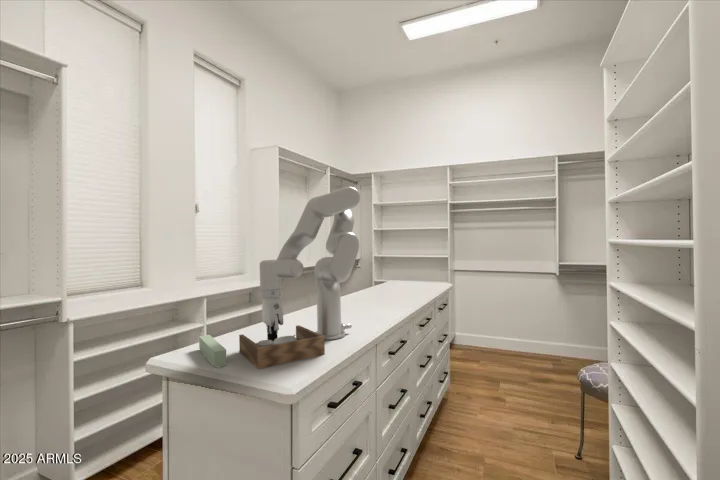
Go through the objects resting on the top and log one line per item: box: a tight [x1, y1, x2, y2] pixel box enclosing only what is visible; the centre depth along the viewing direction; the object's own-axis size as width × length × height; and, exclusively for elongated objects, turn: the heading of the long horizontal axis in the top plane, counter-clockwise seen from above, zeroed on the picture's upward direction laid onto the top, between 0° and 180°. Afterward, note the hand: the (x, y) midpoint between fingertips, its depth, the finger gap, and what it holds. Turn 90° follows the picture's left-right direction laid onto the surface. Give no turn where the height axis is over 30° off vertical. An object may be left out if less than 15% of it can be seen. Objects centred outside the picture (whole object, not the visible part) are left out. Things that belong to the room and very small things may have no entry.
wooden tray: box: [238, 325, 326, 370], centre depth 119 cm, size 22×20×6 cm
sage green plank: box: [198, 334, 227, 368], centre depth 117 cm, size 23×4×5 cm, turn 35°
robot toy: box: [255, 334, 297, 347], centre depth 120 cm, size 12×4×15 cm
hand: (272, 343), depth 128 cm, fingers closed
